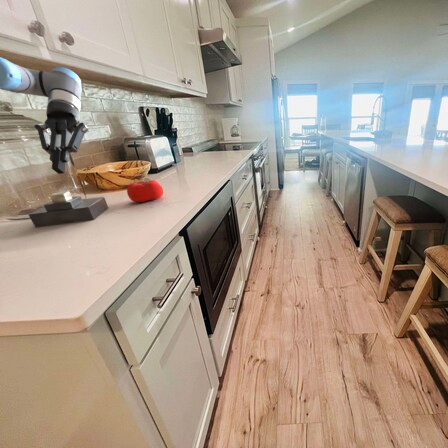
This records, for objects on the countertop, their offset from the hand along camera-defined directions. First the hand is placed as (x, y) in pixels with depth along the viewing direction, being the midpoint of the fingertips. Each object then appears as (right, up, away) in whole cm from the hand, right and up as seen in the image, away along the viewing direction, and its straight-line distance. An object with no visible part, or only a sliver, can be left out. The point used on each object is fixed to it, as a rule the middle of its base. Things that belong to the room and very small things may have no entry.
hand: (58, 170), depth 69 cm
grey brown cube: (+1, -9, 0) cm, 9 cm away
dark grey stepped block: (+1, -13, +4) cm, 14 cm away
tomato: (+15, -7, +18) cm, 24 cm away
